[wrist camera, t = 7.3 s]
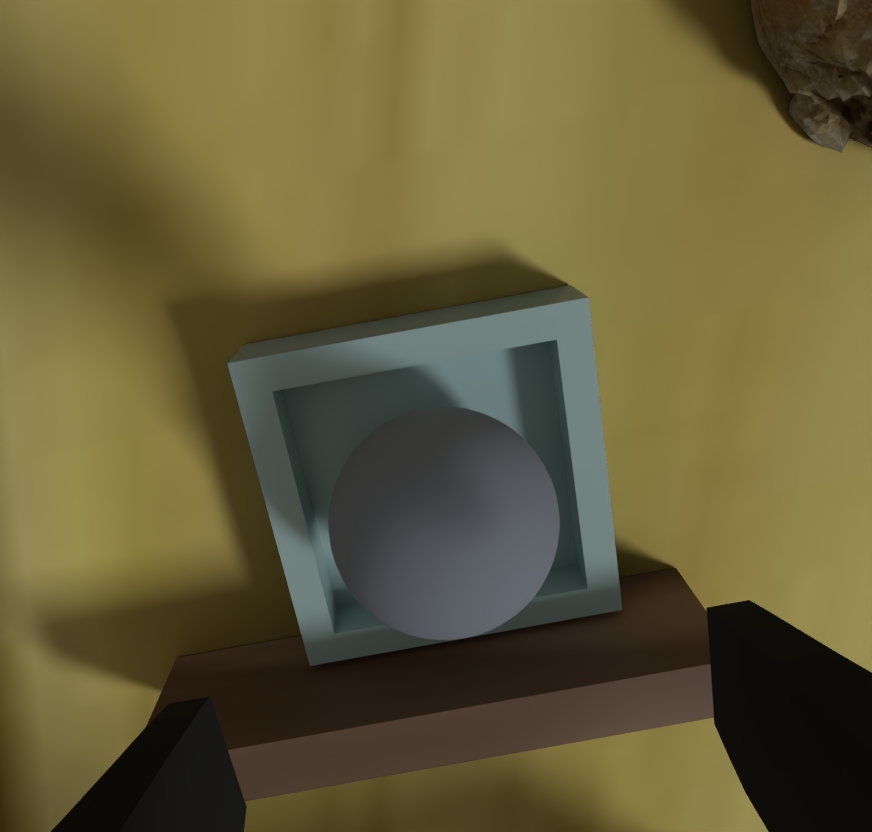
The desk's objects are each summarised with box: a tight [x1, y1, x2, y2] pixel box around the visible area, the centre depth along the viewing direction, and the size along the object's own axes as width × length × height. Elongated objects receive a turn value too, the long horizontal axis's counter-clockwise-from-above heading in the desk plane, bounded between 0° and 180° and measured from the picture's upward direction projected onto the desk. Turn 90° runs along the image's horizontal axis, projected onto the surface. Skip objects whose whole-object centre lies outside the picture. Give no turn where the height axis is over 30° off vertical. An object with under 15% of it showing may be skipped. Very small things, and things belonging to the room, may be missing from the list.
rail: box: [146, 568, 714, 801], centre depth 19 cm, size 2×14×4 cm, turn 100°
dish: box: [227, 285, 622, 666], centre depth 18 cm, size 8×8×2 cm
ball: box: [328, 406, 560, 640], centre depth 16 cm, size 5×5×5 cm
